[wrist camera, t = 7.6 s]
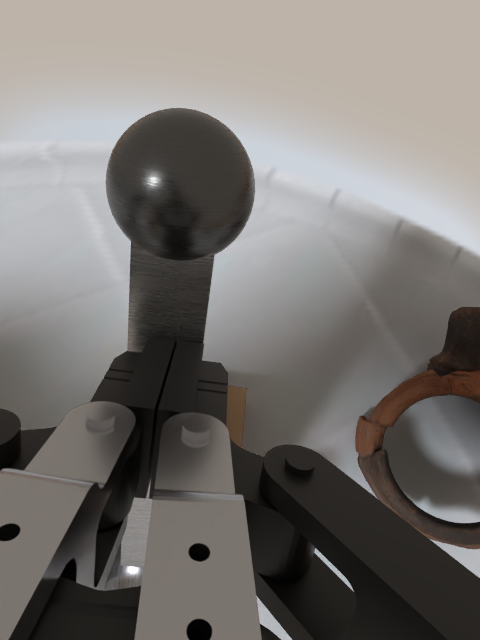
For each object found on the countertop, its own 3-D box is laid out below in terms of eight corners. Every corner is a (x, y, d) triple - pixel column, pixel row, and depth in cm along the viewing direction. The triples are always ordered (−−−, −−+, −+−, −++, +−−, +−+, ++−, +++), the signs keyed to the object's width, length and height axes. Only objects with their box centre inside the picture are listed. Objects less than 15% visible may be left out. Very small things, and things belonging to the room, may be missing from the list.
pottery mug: (535, 529, 26) (584, 587, 18) (362, 504, 29) (342, 544, 22) (529, 317, 27) (572, 290, 20) (366, 317, 31) (348, 293, 23)
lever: (93, 620, 18) (84, 102, 9) (115, 536, 21) (125, 91, 12) (187, 628, 18) (271, 133, 9) (195, 543, 21) (263, 114, 12)
